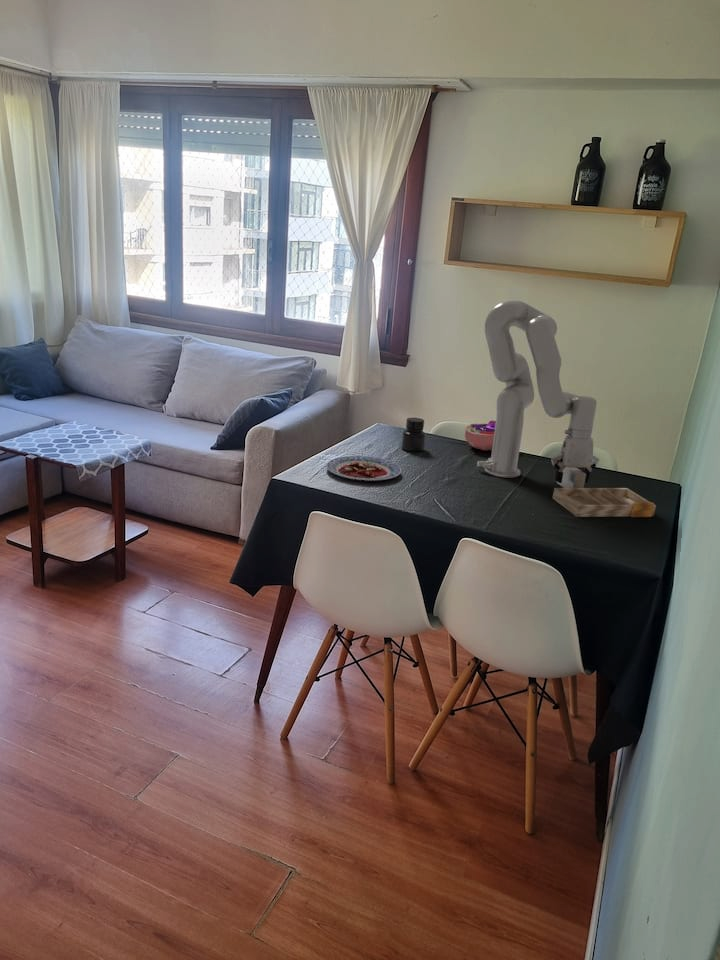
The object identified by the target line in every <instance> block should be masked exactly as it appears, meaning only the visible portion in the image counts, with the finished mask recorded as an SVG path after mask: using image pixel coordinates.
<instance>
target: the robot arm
mask: <svg viewBox="0 0 720 960" xmlns="http://www.w3.org/2000/svg"><path fill="white" fill-rule="evenodd" d="M484 322H485V323H484V335H485V337H486V343H487V347H488V352H489V356H490V357H489V358H490V361H491V366H492V371H493V375H494V378H495V379H496V380H497V381H499V382H501V383H505V387H504V388H503V389H501V391H500V392H499V394H498V396H497V399H496V417H495V418H496V419H495V421H496V424H495V432H494V440H493V447H492V450H491V456H490V457H488V458H487V459H486V460H478V461H477V462H476V466H477V467H483V468H484V470H485V471H484V472H485V473H487V474H489V475H492V476H495V477H499V478H508V479H509V478H511V479H512V478H517V477H519V476H520V475H521V470H520V469H519V468H518V463H519V462H518V461H519V456H520V450H521V442H522V436H523V430H524V422H525V421H524V420H525V419H524V414H525V409H526V408H528V407H530V406H531V405H532V404H533V403H534V400H535V390H534V383H533V380H532V377H531V372H530V368H529V367H530V366H529V364H528V361H527V359H526V358H525V357H524V356H523V355H522V354H520V353H517V352H516V349H515V344H514V341H513V340H514V339H513V337H512V334H511V333H510V328H511V327H516V328H518V329H519V330H521V331H523V332H525V335H526V340H527V343H528V346H529V350H530V352H531V356H532V359H533V362H534V366H535V370H536V371H535V372H536V373H535V375H536V382H537V383H536V384H537V385H536V386H537V389H538V390H537V391H538V395H539V397H540V401H541V404H542V407H543V409H544V411H545V414H547V416H549V417H551V418H554V419H559V418H562V417H564V416H566V415H570V417H569V424H568V427H567V429H565V430H564V434H565V435H566V436H565V437H564V439H563V442H562V446H561V450H560V453H559V454H557V455H555V456H552V457H551V458H550V460H551V464H552V466H553V468H554V469H555V470H556V472H555V476H554V477H555V478H554V479H555V481H556V483H557V482H558V483H562V478H563V472H562V471H563V470H564V469H565V468H566V467H568V468H577V469H579V468H581V469H582V468H584V469H582V472H584V473H585V474H586V478H585V483H584V484H588V482H589V479H590V475H591V472H592V471H593V470H594V469H595V468H596V467H597V464H598V463H599V461H600V458H598V457H596V456H595V455H594V438H593V437H592V433H593V427H594V422H595V414H596V409H597V404H598V402H597V400H596V398H594V397H591V396H585V395H577V394H573V393H570V392H567V391H563V389H562V387H561V382H560V380H561V379H560V370H561V367H562V358H561V354H560V350H559V347H558V345H557V341H556V338H555V336H556V334H557V331H558V326H557V323H556V320H555V319H553V318H552V317H551V316H549V315H548V314H545V313H544V312H542V311H540V310H538V309H537V308H535V307H533V306H531V305H530V304H529V303H526V302H524V301H522V300H521V301H520V300H507V301H503V302H500V303H498V304H496V305H495V306H494V307H493V308H492V309H491V310H490V311H489V313H488V314H487V316H486V319H485V321H484ZM558 461H559V462H558ZM557 462H558V463H557ZM558 483H557V484H558Z"/></svg>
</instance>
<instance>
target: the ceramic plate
mask: <svg viewBox="0 0 720 960" xmlns="http://www.w3.org/2000/svg"><path fill="white" fill-rule="evenodd" d="M348 464H349V465H348ZM342 466H343V467H342ZM340 467H341V468H340ZM339 468H340V469H339ZM326 469H327V470H328V471H329V472H330V473H332V474H334V475H336V476H339V477H342V478H346V479H350V480H355V479H356V480H357V481H362V480H364V481H365V482H367V481H368V482H370V481H371V482H373V481H384V480H390V479H394V478H396V477H398V476H399V475H401V473H402V468H401V467H400V466H399V465H398V464H397V463H394V462H392V461H390V460H388V459H384V458H378V457H374V456H373V457H372V456H363V455H349V456H341V457H336V458H333V459H331V460H329V461H328V462H327V463H326ZM356 480H355V481H356Z"/></svg>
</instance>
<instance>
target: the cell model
mask: <svg viewBox="0 0 720 960" xmlns="http://www.w3.org/2000/svg"><path fill="white" fill-rule="evenodd" d="M495 424H496V420H490V421H489V422H488V423H471V424H468V425H467V426H466V427H465V429H464V438H465V439H464V440H466V442H468V444H469V445H470V446H471V447H473V448H474V449H477V450H481V451H485V452H486V451H492V447H493V440H494V432H495Z"/></svg>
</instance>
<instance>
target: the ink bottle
mask: <svg viewBox="0 0 720 960" xmlns="http://www.w3.org/2000/svg"><path fill="white" fill-rule="evenodd" d="M405 423H406V424H405V428H406V429H404V431H403V432H402V436H401V437H402V439H401V449H402V450H403V449H405V450H404V451H406V450H409V451H408V452H410V451H421V452H423V451H424V450H425V446H426V445H425V443H426V433H425V432H424V427H425V419H423V418H421V417H406V422H405Z"/></svg>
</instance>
